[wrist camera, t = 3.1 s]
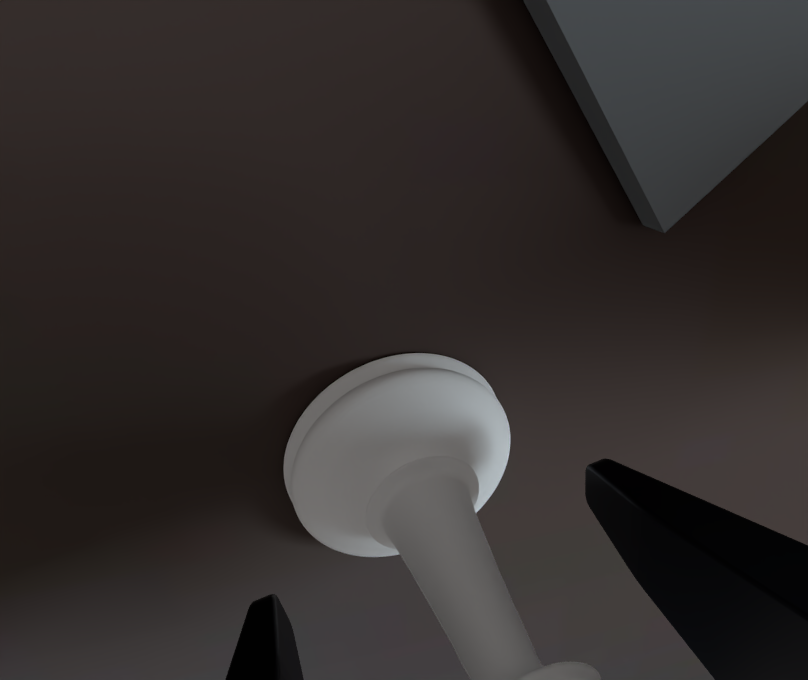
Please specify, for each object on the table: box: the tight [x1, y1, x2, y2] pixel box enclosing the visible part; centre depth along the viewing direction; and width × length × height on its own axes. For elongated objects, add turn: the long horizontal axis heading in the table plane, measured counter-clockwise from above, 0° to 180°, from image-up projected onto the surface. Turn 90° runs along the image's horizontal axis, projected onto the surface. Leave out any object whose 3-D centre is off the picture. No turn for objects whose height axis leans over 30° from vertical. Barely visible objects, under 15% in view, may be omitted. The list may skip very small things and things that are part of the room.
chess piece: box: [283, 353, 602, 680], centre depth 7 cm, size 5×5×10 cm
